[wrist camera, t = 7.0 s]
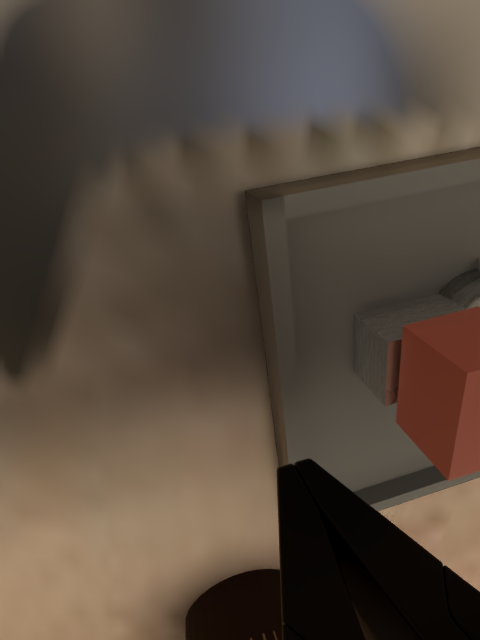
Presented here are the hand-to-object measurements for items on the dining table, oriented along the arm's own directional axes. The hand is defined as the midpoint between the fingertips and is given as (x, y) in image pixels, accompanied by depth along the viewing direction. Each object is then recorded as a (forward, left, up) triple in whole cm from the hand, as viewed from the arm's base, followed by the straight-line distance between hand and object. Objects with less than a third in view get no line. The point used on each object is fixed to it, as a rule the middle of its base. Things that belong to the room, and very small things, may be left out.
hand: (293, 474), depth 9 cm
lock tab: (-5, 0, -2) cm, 6 cm away
